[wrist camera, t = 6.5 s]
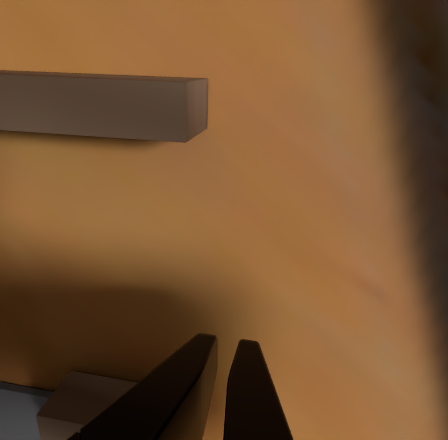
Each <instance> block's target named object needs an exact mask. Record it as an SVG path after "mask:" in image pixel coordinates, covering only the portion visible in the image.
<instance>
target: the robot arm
mask: <svg viewBox="0 0 448 440" xmlns="http://www.w3.org/2000/svg"><path fill="white" fill-rule="evenodd" d="M217 346H218V340H217V337H216V336H215V335H211V334H204V333H199V334H197V335H196V336H194V337H193V338H192V339H191V340H190V341H188V342H187V343H186V344H185V345H183V346H182V347H181V348H180V349H178V350H177V351H176V352H175V353H173V354H172V355H171V356H170V357H168V358H167V359H166V360H165V361H164V362H162V363H161V364H160V365H159V366H157V367H156V368H155V369H154V370H152V371H151V372H150V373H149V374H147V375H146V376H145V377H144V378H142V379H141V380H140V381H139V382H138V383H136V384H135V385H134V386H133V387H131V388H130V389H129V390H128V391H126V392H125V393H124V394H123V395H121V396H120V397H119V398H118V399H116V400H115V401H114V402H113V403H112V404H110V405H109V406H108V407H107V408H105V409H104V410H103V411H102V412H100V413H99V414H98V415H97V416H95V417H94V418H93V419H92V420H90V421H89V422H88V423H87V424H86V425H84V426H83V427H82V428H81V429H80V433H79V432H75V433H74V434H73V435H72V436H70V437H69V438H68V439H67V440H202V437H203V433H204V429H205V424H206V419H207V415H208V410H209V405H210V401H211V396H212V391H213V387H214V382H215V377H216V372H217ZM223 440H293V437H292V434H291V431H290V429H289V426H288V423H287V420H286V417H285V415H284V412H283V409H282V406H281V403H280V401H279V398H278V395H277V392H276V389H275V387H274V384H273V381H272V378H271V375H270V373H269V370H268V367H267V364H266V361H265V359H264V356H263V353H262V350H261V347H260V345H259V343H258V342H257V341H252V340H245V339H241V340H240V341H239V343H238V346H237V349H236V353H235V356H234V359H233V363H232V366H231V369H230V373H229V377H228V383H227V394H226V408H225V422H224V436H223Z"/></svg>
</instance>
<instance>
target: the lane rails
mask: <svg viewBox="0 0 448 440" xmlns="http://www.w3.org/2000/svg"><path fill="white" fill-rule="evenodd" d="M207 115H208V79H206V78H181V77H156V76H131V75H106V74H81V73H56V72H31V71H6V70H0V130H8V131H22V132H37V133H52V134H67V135H81V136H96V137H111V138H125V139H140V140H155V141H170V142H184V143H186V142H187V141H189V140H190V139H192V138H193V137H195V136H196V135H198V134H199V133H201V132H202V131H204V130H205V129H207ZM136 383H138V382H132V381H126V380H121V379H115V378H109V377H104V376H98V375H92V374H87V373H81V372H75V371H69V373H68V374H67V375H66V377H65V378H64V379H63V381H62V382H61V383H60V385H59V386H58V387H57V389H56V390H55V391H54V392H53V394H52V395H51V396H50V398H49V399H48V400H47V402H46V403H45V404H44V406H43V407H42V408H41V409H40V411H39V412H38V413H37V415H36V419H37V424H38V428H39V433H40V438H41V440H67V439H68V438H69V437H70V436H72V435H73V434H74V433H75V432H79V433H80V429H81V428H82V427H83V426H84V425H86V424H87V423H88V422H89V421H90V420H92V419H93V418H94V417H95V416H97V415H98V414H99V413H100V412H102V411H103V410H104V409H105V408H107V407H108V406H109V405H110V404H112V403H113V402H114V401H115V400H116V399H118V398H119V397H120V396H121V395H123V394H124V393H125V392H126V391H128V390H129V389H130V388H131V387H133V386H134V385H135V384H136Z"/></svg>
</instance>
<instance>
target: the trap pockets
mask: <svg viewBox="0 0 448 440" xmlns="http://www.w3.org/2000/svg"><path fill="white" fill-rule="evenodd" d="M52 394H53V392H52V391H46V390H41V389H36V388H30V387H25V386H20V385H14V384H9V383H4V382H0V440H41V438H40V433H39V428H38V424H37V419H36V415H37V413H38V412H39V411H40V409H41V408H42V407H43V406H44V404H45V403H46V402H47V400H48V399H49V398H50V396H51V395H52Z"/></svg>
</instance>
